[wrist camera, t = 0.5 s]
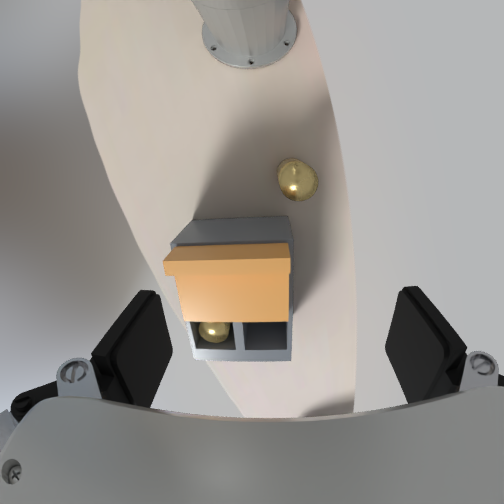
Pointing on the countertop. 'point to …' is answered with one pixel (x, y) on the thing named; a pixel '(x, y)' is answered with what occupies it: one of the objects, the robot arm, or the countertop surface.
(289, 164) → the pin
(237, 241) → the housing
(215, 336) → the pin
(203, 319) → the cover
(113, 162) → the countertop surface
